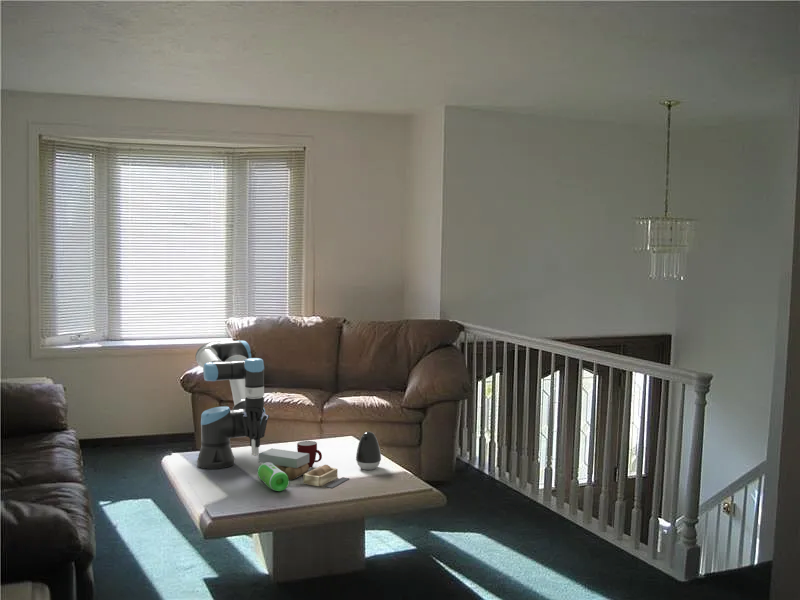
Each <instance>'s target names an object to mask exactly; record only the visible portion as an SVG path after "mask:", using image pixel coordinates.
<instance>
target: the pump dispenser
mask: <svg viewBox="0 0 800 600" xmlns="http://www.w3.org/2000/svg"><path fill="white" fill-rule="evenodd" d="M381 454H382V453H381V449H380V445H379V442H378V439H377V436H376V434H375V433H374V432H372V431H365V432H364V433H362V435H361V437H360V439H359V442H358V445H357V449H356V456H355V460H356V463H357V465H358V467H359V468H360V469H362V470H364V471H373V470H375V469H377V468H378V467H379V466H380V463H381V460H382V455H381ZM372 469H373V470H372Z"/></svg>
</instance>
